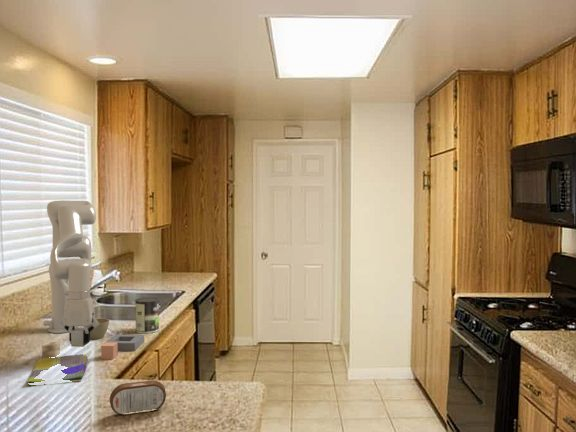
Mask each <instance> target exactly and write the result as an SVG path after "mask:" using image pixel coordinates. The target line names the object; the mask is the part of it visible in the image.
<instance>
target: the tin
mask: <svg viewBox="0 0 576 432" xmlns="http://www.w3.org/2000/svg"><path fill="white" fill-rule="evenodd" d="M166 392H167V391H166V388H165V386H164V385H163V383H161V382H160V381H158V380H153V379H151V380H145V381H136V382H135V381H133V382H126V383H121V384H119V385H117V386H116V387H114V389H113V390H112V391H111V393H110V396H109V404H110V409H111V410H112V412H114V413H115V414H116V415H118V414H123V413H129V412H136V411H143V410H152V409H158V410H159V409H160V408H162V406H164V404H165V402H166V399H167V397H166V396H167V393H166Z"/></svg>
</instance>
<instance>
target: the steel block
mask: <svg viewBox="0 0 576 432" xmlns="http://www.w3.org/2000/svg"><path fill="white" fill-rule="evenodd" d="M84 334H85V329H84V326H79V327H76V328H74V329H73V330H71V344H70V346H71V348H72V347H73V348H74V347H78V348H83V347H85V346H86V345H88V344H89V342H88V343H87V344H84Z"/></svg>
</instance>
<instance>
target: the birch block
mask: <svg viewBox="0 0 576 432" xmlns="http://www.w3.org/2000/svg"><path fill="white" fill-rule="evenodd" d="M59 354H60V355H61V342H60V341H47V342H45V343H43V344H42V345H41V357H42V358H49V357H50V358H51V357H56V356H57V355H59ZM60 355H59V356H60ZM42 358H41V359H42Z"/></svg>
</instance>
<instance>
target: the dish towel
mask: <svg viewBox="0 0 576 432" xmlns="http://www.w3.org/2000/svg"><path fill="white" fill-rule="evenodd" d="M89 360H90V358H88V356H87V355H86V354H83V353H81V354H74V355H72V354H71V355H63V356H58V357H55V358H43V359H42V358H40V359H38V360H37V361H36V362H35V364H34V367H33V369H32V371H33V373H32V372H31V373H32V374H30V376H29V378H28V379H27V380H26V385H27V384H28V383H34V382H41V381H45V380H42V379H34V378H35V377H36V376H38V375H39V374H40V372H41V371H43V370H48V369H49V368H50V367H52V366H55V365H57V364H61V366H65V367H68V368H67V369H64V370H61V371H62V372H63V373H65V374H67V375H66V376H65V377H64V378H62V379H63V380H70V381H72V382H74V383H81V381H82V379H83V378H84V376H85V373H86V371H87V368H88V364H89Z"/></svg>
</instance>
